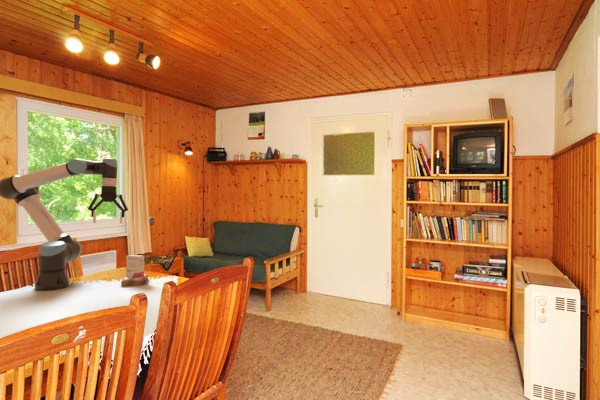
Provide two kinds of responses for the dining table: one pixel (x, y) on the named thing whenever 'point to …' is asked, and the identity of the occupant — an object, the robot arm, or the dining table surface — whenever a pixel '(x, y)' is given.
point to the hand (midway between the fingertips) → (107, 223)
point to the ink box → (134, 266)
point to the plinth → (134, 281)
